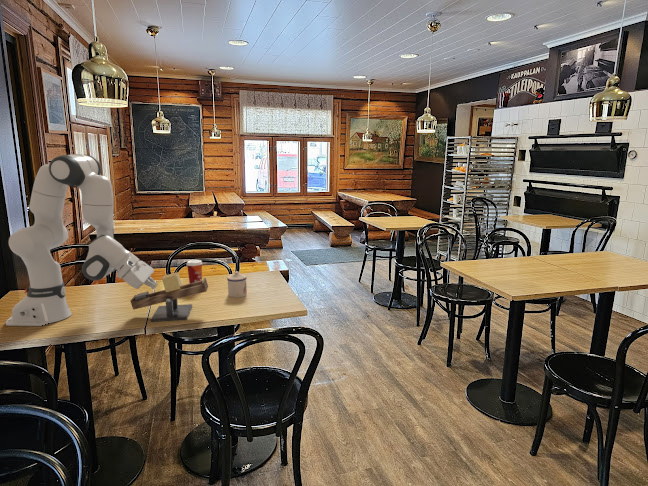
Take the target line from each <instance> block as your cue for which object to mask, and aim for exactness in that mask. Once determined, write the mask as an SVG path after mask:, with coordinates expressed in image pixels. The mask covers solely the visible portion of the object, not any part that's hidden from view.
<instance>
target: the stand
mask: <svg viewBox="0 0 648 486" xmlns="http://www.w3.org/2000/svg"><path fill="white" fill-rule="evenodd" d="M165 300H166V302H165V305H159V306H158V307H157V308H156V310H155V312H154V314H153V315H152V316H151V318H150V322H153V323H154V322H168V321H169V322H171V321H187V320H188V319H189V316H190V313H191V311H192V309H193V304H191V303H190V304H188V303H187V304H178V299H175V300H172V297H166V298H165Z"/></svg>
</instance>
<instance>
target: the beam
mask: <svg viewBox="0 0 648 486" xmlns="http://www.w3.org/2000/svg"><path fill="white" fill-rule="evenodd" d="M182 286H183V289H182V290H178V291H174V292H170V293H166V291H165V289H162V290H159V291H154V292H151V293H150V292H149V295H150V297H149V298H145V299H141V300H137V301H136V300H135V296H136V295H137V294H135V295H133V297H132V298H131V299H130V304H131V307H132V310H138V309H142V308H146V307H149V306H154V305H158V304H159V305H160V304H162V303H166V300H165V298H166V297H172V300H175V299H177V300H178V299H182V298H187V297H190V296H194V295H199V294H202V293H206V292H207V290H208V288H209V285H208V281H207V278H206V277H204V278H202V281H199V282H194V283H190V282H189V283H186V284H184V285H183V284H182Z"/></svg>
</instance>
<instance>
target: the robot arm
mask: <svg viewBox="0 0 648 486" xmlns="http://www.w3.org/2000/svg"><path fill="white" fill-rule="evenodd" d="M102 171H103V168H102V164H101V162H100V161H99V160H98V159H97V158H96V157H94V156H92V155H89V154H82V153H81V154H79V153H73V154H63V155H58V156H55V157H54V158H53V159H52V160H50V162H49V163H47V164H43V165H42V166H40V167H39V169H38V172H37V174H36V176H35V179H34V182H33V186H32V189H31V190H32V191H31V196H30V201H29V205H28V207H29V211H30V212H31V213H32V214H33V217H34V223H33V225H31V226H26V227H22V228H21V229H19V230H17V231H15V232H13V233H12V234H11V235H9V237H8V246H9V249H10V250H11V252H13V253H14V254H15V255H17V256H19V258H21V260H22V261H23V263H24V265H25V267H26V271H27V274H28V278H29V286H28V287H27V288H26V289H25V290H23V293H24V294H26V296H24V297H23V298H22V299H21V300H20V301H19V302H17V303H16V304H15V305H14V306H13V308H12V310H11V316H10V317H9V318H8V319H7V320H6V321H5V326H8V327H9V326H11V327H13V326H15V327H17V326H18V327H43V326H46V325H48V323H49V324H52V323H55V322H60V321H63V320H65V319H67V318H69V317H70V316H72V312H71V309H70V308H69V304H68V302H67V297H66V287H65V283H64V281H63V274H62V268H61V264H60V263H59V262H58V261H55V259H54V257H53V256H52V252H51V250H53V249H56V248H58V247H61V246H62V245H63V244H65V242H67V240H68V237H69V231H68V229H67V227H66V226H65V225H64V221H63V215H64V214H63V212H64V207H65V202H66V198H67V192H68V188H69V187H70V188H73V189H75V188H76V189H77V188H78V189H80V192H81V215H82V217H83V218H82V219H83V220H84V221H85V222H86V224H89V226H92V227H93V228H94V229H95V231H96V238H95V239H93V240H91V242H90V243H89V245H88V252H87V256H86V258H85V260H84V263H82V266H81V272H82V274H83V276H84V277H85V278H86V279H88V280H90V281H93V282H94V281H95V282H97V281H100V280H103V279H104V278H106V277H107V276H109V275H110V274H111V273H113V272H115V271H116V276H117V278H119V279H120V280H121V279H122V280H123V281H124V282H125V283H126V284H128V285H129V286H131V287H132V288H134V289H136V290H138V289H140V288H141V287H142V286H143V285H145V286H147V287H150V288H151V289H152V290H155V288H156V287H157V286H158V283H157V281H155V280H154V278H153V277H152V276H151V275H153V273H154V272H155V269H154V268H153V267H152V266H150V265H149V264H148V263H146V262H145V261H143V260H140V258H138V257H137V256H136V255H135V254H133V253H132V252H131V251H129V250H127V249H126V248H125V247H124V246H123V244H121V243H120V242H119V241H117V240H116V239H115V234H114V233H115V231H114V208H115V207H114V190H113V185H112V181H111V180H110V179H109V178H108V177H106V176H104V175H102ZM45 324H46V325H45ZM42 325H43V326H42Z"/></svg>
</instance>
